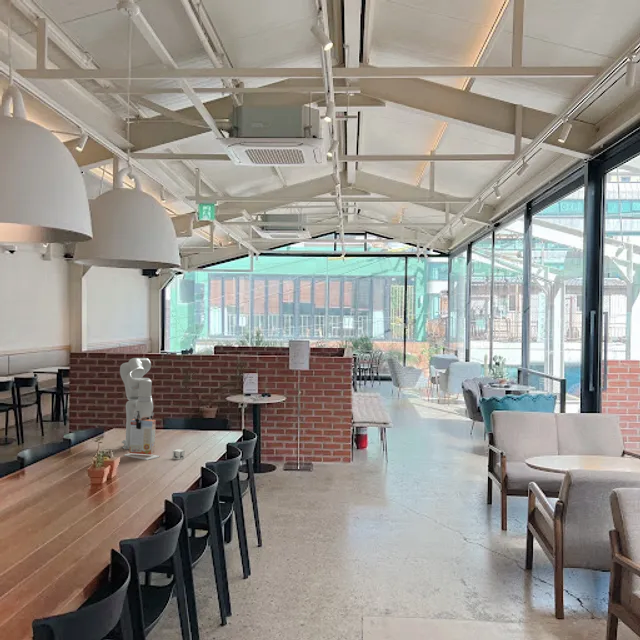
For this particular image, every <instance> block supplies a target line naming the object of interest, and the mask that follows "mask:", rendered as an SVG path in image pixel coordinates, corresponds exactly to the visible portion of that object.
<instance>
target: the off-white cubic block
mask: <svg viewBox="0 0 640 640" xmlns="http://www.w3.org/2000/svg"><path fill="white" fill-rule="evenodd" d="M172 459H174V460H178V461H179V460H183V459H185V450H184V449H179V448H178V449H173V450H172Z"/></svg>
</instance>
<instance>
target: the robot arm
mask: <svg viewBox="0 0 640 640" xmlns="http://www.w3.org/2000/svg"><path fill="white" fill-rule="evenodd" d="M151 367H152V362H151V360H150V359H149V358H148V357H133V358H130V359H129V360H128V362H123V363H122V364H120V367H119V375H120V378H121V380H122V382H123V385H124V389H125V390H124V391H125V396H126V399H127V400H128V401H126V402H125V413H126V414H125V416H126V421H125V422H126V423H125V439H123V440H122V441H121V444H123V445H122V449H124V450H128V451H129V450H130V429H131V420H132V419H135V421H136V429H141V422H140V421H141V419H150V420H153V417H154V415H155V413H154V412H153V411H154V402H153V397H152V385H153V384H152V383H153V381H152V380H151V378H149V377H144V376H145V375H146V374H147V373H148V372H149V371H150V370H151Z"/></svg>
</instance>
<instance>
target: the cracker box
mask: <svg viewBox="0 0 640 640" xmlns="http://www.w3.org/2000/svg"><path fill="white" fill-rule="evenodd" d="M156 421H157V420H156V419H151V420H150V419H146V418H142V419H141V421H140V422H141V429H136V421H135V419H132V420H131V429H130V450H128V451H129V452H128V454H129V453H134V454H148V455H151V454H152V455H154V454H155V446H156V445H155V444H156Z"/></svg>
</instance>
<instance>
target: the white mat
mask: <svg viewBox="0 0 640 640" xmlns="http://www.w3.org/2000/svg"><path fill="white" fill-rule="evenodd" d="M123 456H124V457H129V458H134V459H139V460H144V461H149V460H153V459H158V458H160V455H156V454H151V455H148V454H134V453H129V452H128V453H126V454H123Z"/></svg>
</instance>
